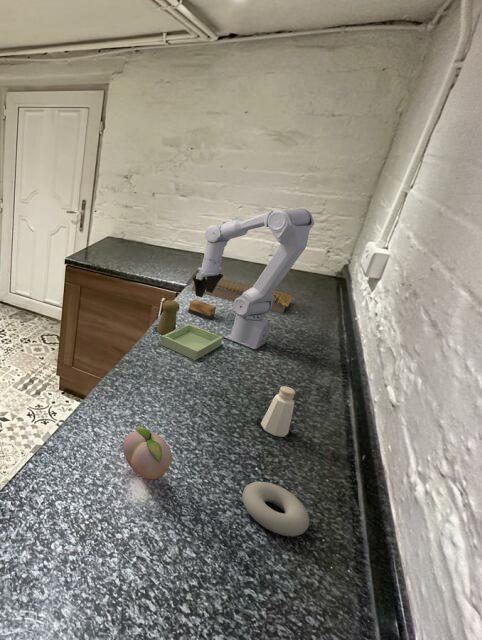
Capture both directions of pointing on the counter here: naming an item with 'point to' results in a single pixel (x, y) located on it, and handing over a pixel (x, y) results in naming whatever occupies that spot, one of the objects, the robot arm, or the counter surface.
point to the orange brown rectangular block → (202, 309)
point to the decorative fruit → (147, 453)
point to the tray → (191, 341)
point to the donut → (276, 522)
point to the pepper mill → (168, 317)
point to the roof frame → (242, 288)
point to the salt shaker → (279, 413)
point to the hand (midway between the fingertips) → (204, 294)
